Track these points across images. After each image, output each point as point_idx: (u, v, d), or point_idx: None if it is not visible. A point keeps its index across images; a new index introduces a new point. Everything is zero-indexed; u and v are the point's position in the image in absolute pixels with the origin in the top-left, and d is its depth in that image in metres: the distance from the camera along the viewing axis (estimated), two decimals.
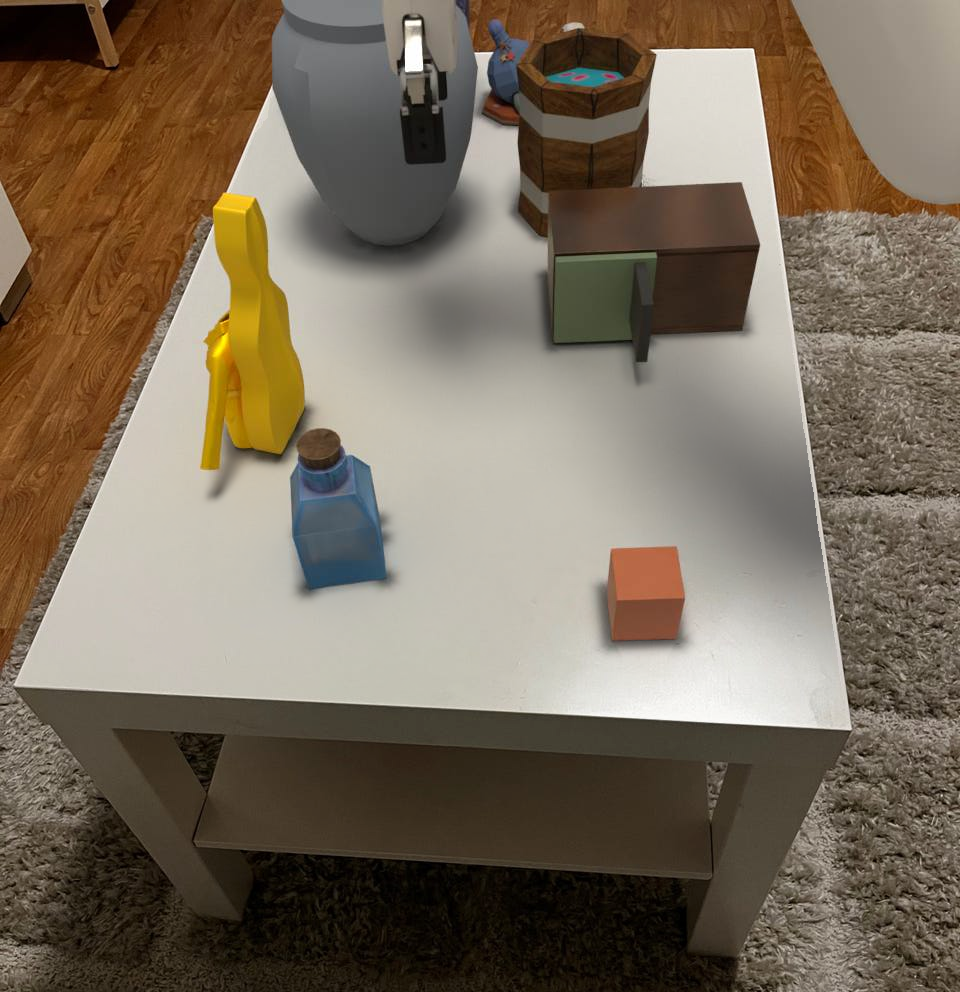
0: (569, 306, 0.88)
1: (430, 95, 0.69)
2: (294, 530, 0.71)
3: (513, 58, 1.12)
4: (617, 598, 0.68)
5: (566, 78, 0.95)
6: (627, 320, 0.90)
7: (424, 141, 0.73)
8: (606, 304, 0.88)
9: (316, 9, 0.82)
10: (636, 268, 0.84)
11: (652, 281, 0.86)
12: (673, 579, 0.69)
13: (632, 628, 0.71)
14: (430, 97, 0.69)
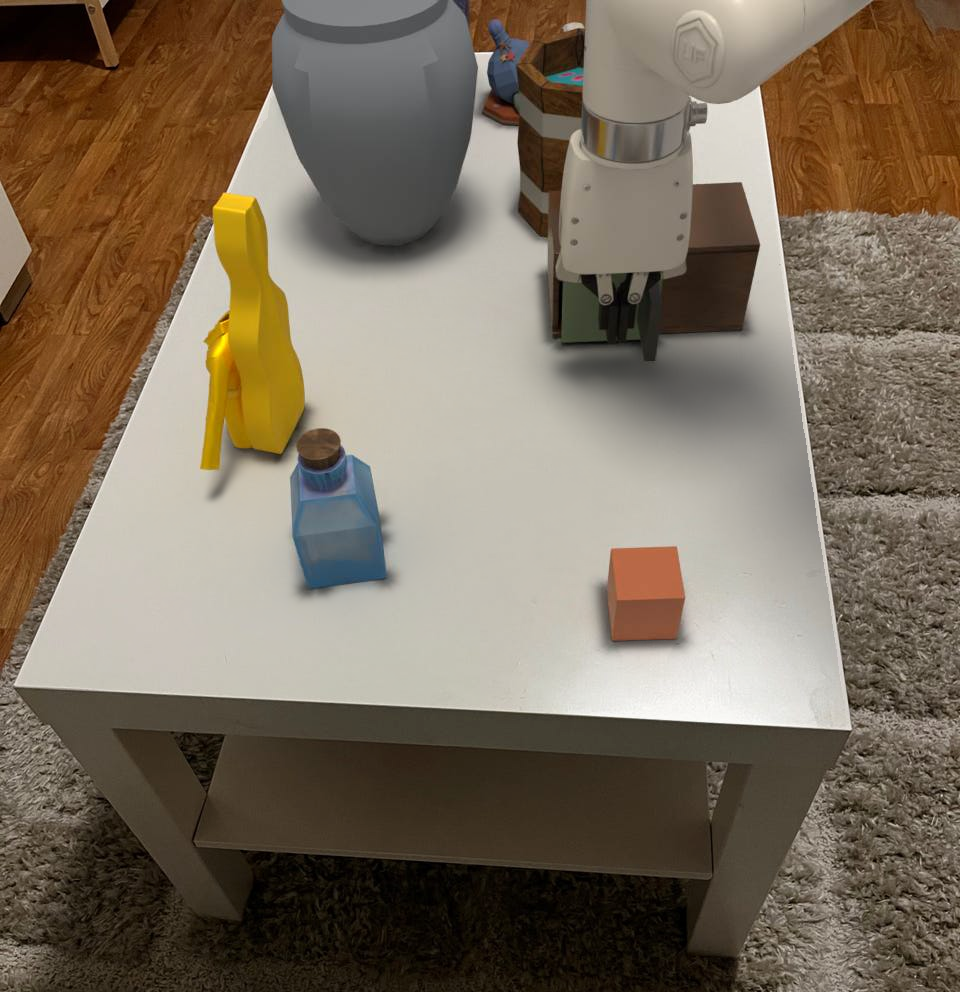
0: (577, 306, 0.88)
1: None
2: (294, 530, 0.71)
3: (513, 58, 1.12)
4: (617, 598, 0.68)
5: (566, 78, 0.95)
6: (635, 319, 0.90)
7: None
8: None
9: (316, 9, 0.82)
10: None
11: (660, 281, 0.86)
12: (673, 579, 0.69)
13: (632, 628, 0.71)
14: None
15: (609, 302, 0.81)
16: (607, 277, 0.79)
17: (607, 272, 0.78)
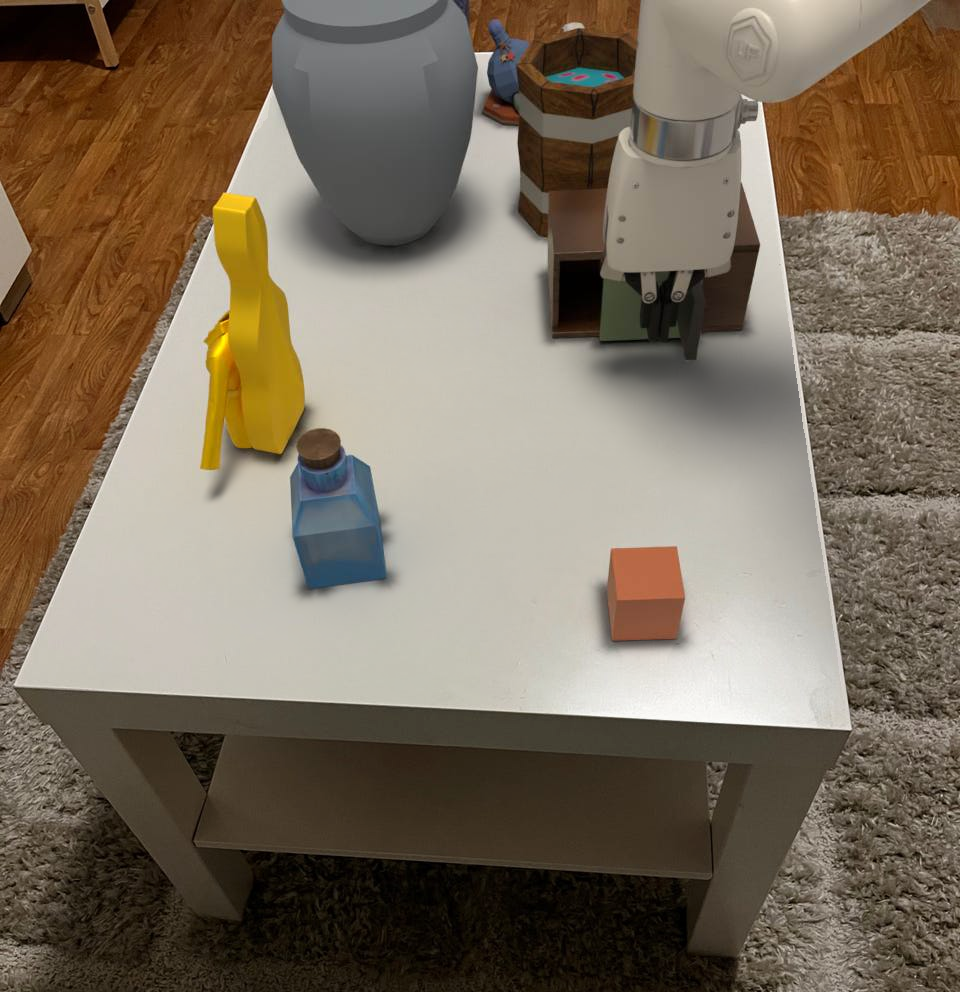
0: (617, 304, 0.88)
1: None
2: (294, 530, 0.71)
3: (513, 58, 1.12)
4: (617, 598, 0.68)
5: (566, 78, 0.95)
6: None
7: None
8: None
9: (316, 9, 0.82)
10: None
11: None
12: (673, 579, 0.69)
13: (632, 628, 0.71)
14: None
15: (652, 300, 0.81)
16: (652, 275, 0.79)
17: (652, 270, 0.78)
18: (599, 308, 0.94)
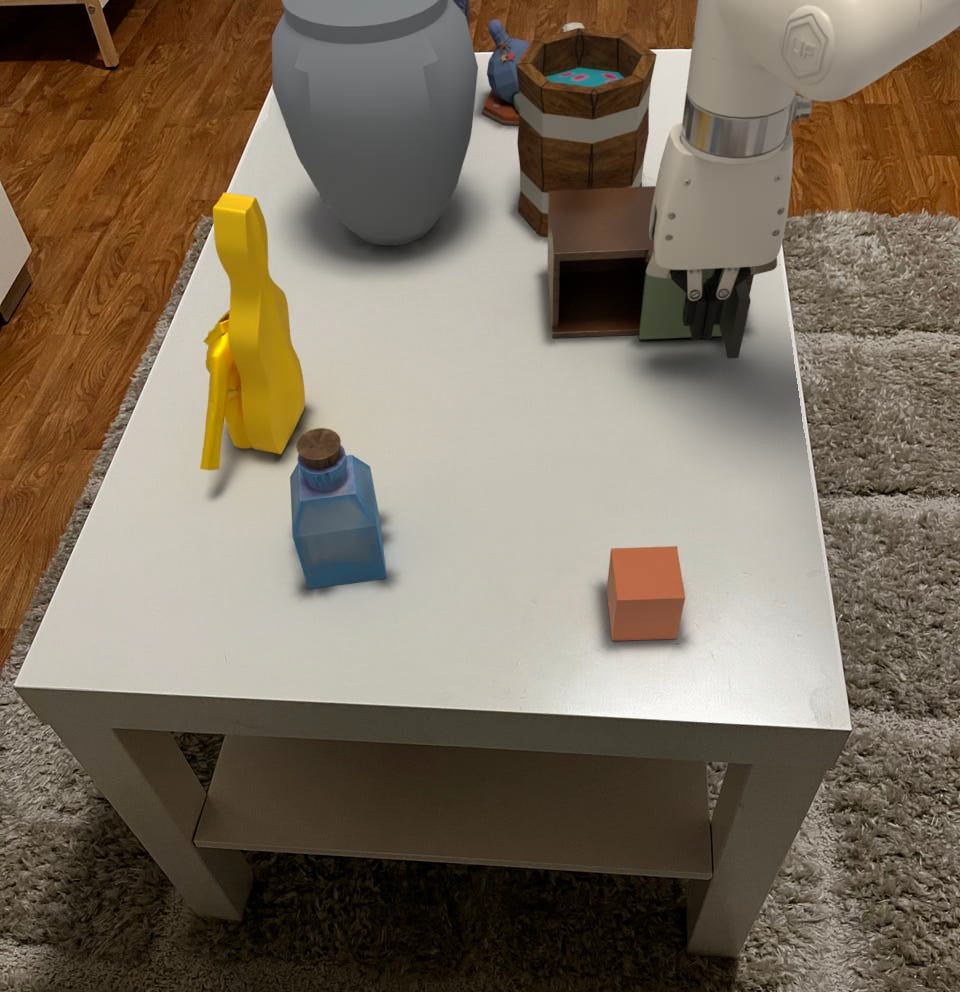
0: (658, 302, 0.88)
1: None
2: (294, 530, 0.71)
3: (513, 58, 1.12)
4: (617, 598, 0.68)
5: (566, 78, 0.95)
6: None
7: None
8: None
9: (316, 9, 0.82)
10: None
11: None
12: (673, 579, 0.69)
13: (632, 628, 0.71)
14: None
15: (697, 298, 0.81)
16: (698, 272, 0.79)
17: (699, 267, 0.78)
18: (599, 308, 0.94)
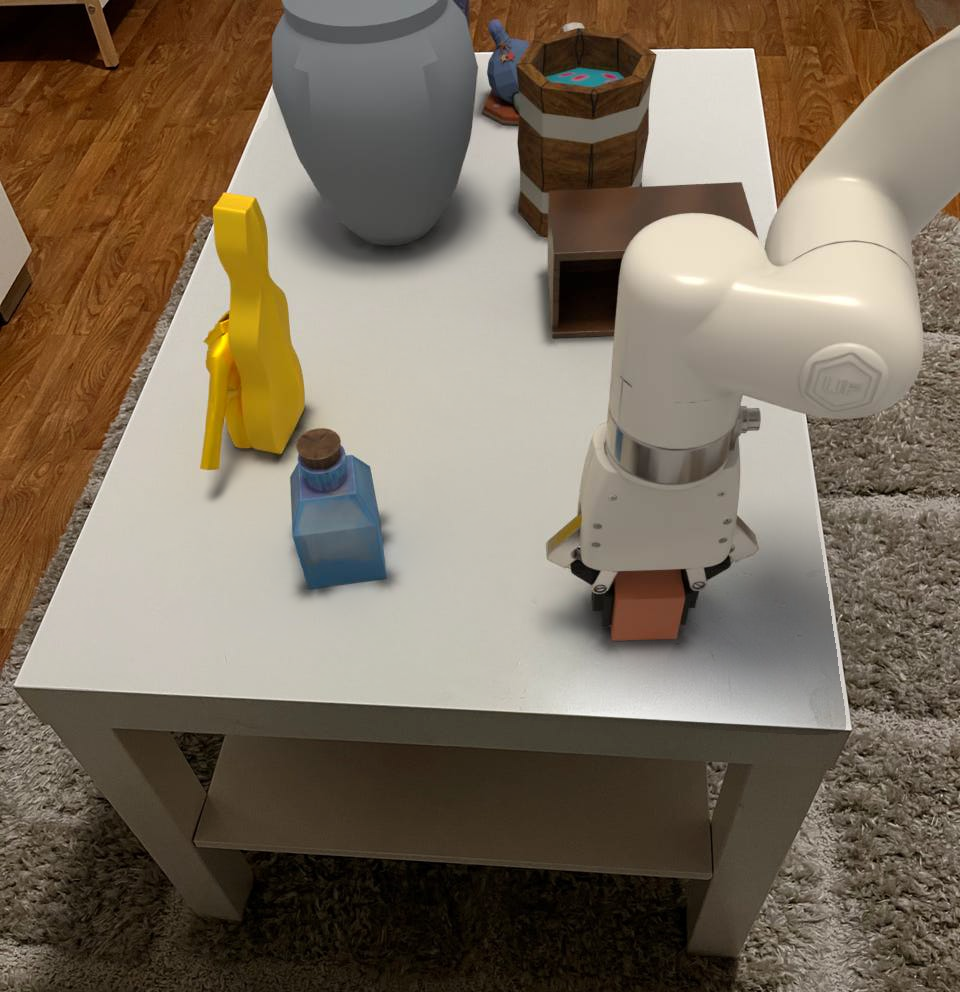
0: None
1: None
2: (294, 530, 0.71)
3: (513, 58, 1.12)
4: (617, 598, 0.68)
5: (566, 78, 0.95)
6: None
7: None
8: None
9: (316, 9, 0.82)
10: None
11: None
12: (673, 579, 0.69)
13: (632, 628, 0.71)
14: None
15: (604, 591, 0.69)
16: (614, 571, 0.67)
17: (635, 569, 0.66)
18: (599, 308, 0.94)
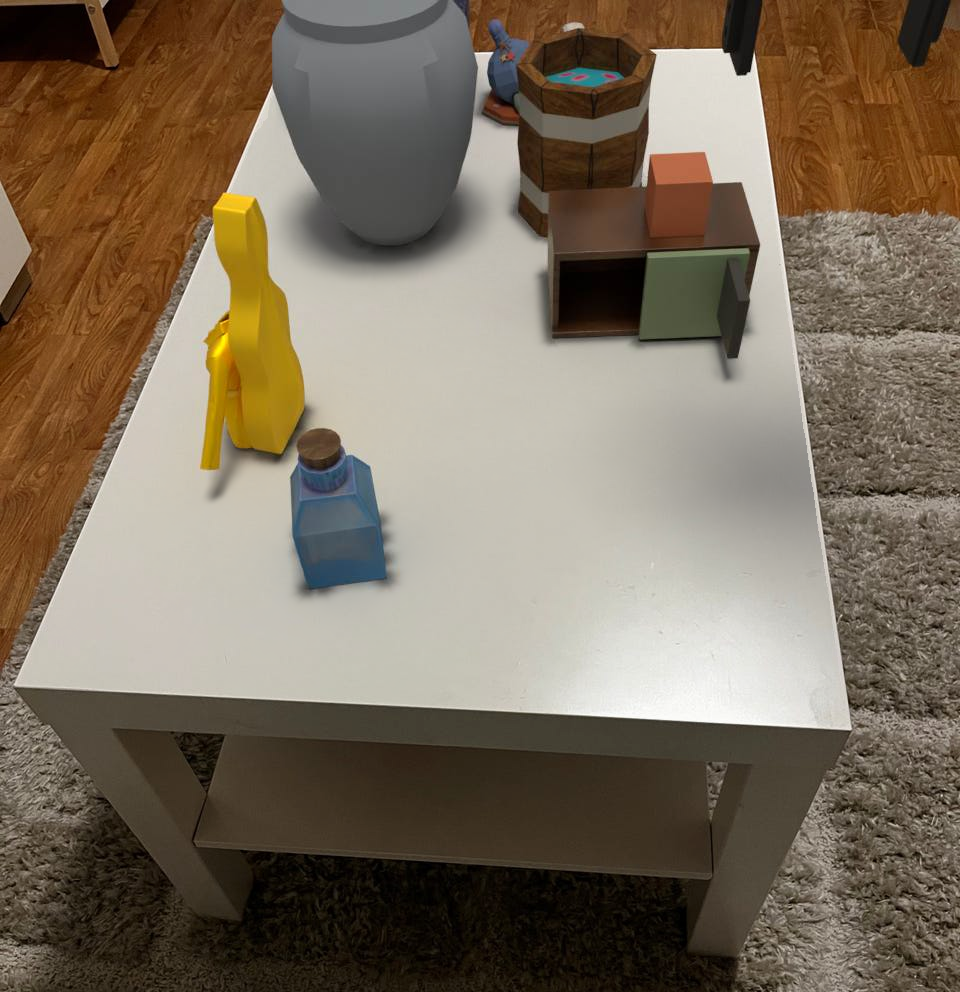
0: (657, 302, 0.88)
1: None
2: (294, 530, 0.71)
3: (513, 58, 1.12)
4: (656, 183, 0.82)
5: (566, 78, 0.95)
6: (714, 316, 0.89)
7: None
8: (695, 300, 0.88)
9: (316, 9, 0.82)
10: (729, 264, 0.84)
11: None
12: (702, 170, 0.83)
13: (667, 221, 0.85)
14: None
15: None
16: None
17: None
18: (599, 308, 0.94)
